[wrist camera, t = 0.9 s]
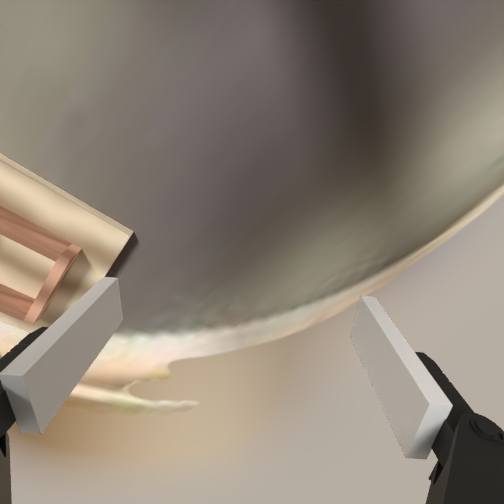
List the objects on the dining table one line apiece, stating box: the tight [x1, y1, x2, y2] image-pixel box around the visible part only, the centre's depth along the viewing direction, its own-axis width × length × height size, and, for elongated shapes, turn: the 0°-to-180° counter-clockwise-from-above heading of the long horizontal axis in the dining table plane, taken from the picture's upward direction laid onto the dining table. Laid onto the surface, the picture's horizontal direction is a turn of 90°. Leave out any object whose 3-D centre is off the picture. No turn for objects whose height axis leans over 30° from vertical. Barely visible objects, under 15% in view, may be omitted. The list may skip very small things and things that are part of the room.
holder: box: [0, 154, 134, 333], centre depth 35 cm, size 22×20×4 cm
